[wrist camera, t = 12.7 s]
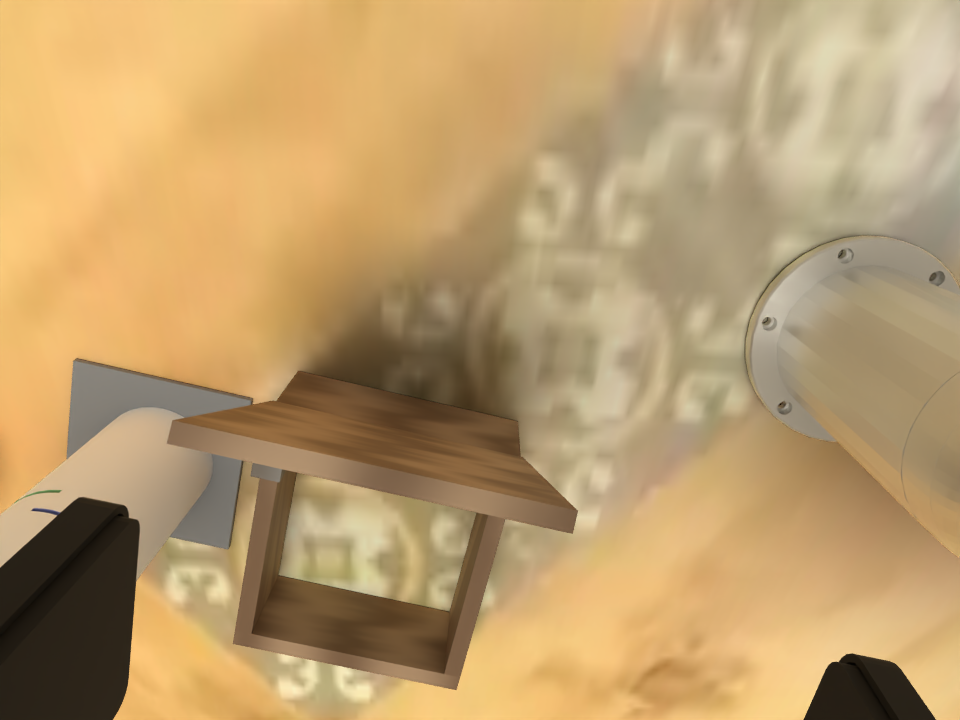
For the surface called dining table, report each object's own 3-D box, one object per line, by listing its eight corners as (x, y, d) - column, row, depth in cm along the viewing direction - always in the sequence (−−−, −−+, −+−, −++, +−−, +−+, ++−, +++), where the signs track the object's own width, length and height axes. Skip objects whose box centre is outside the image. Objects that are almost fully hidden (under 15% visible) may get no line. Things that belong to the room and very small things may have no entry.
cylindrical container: (205, 518, 50) (-57, 893, 26) (96, 494, 49) (-269, 852, 26) (219, 422, 48) (-52, 736, 24) (106, 395, 47) (-285, 688, 24)
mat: (252, 398, 48) (250, 400, 47) (230, 546, 51) (228, 549, 51) (76, 358, 47) (73, 360, 47) (65, 510, 50) (62, 514, 50)
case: (542, 334, 46) (578, 514, 26) (460, 626, 53) (439, 947, 33) (309, 279, 45) (160, 421, 25) (257, 583, 52) (107, 885, 32)
